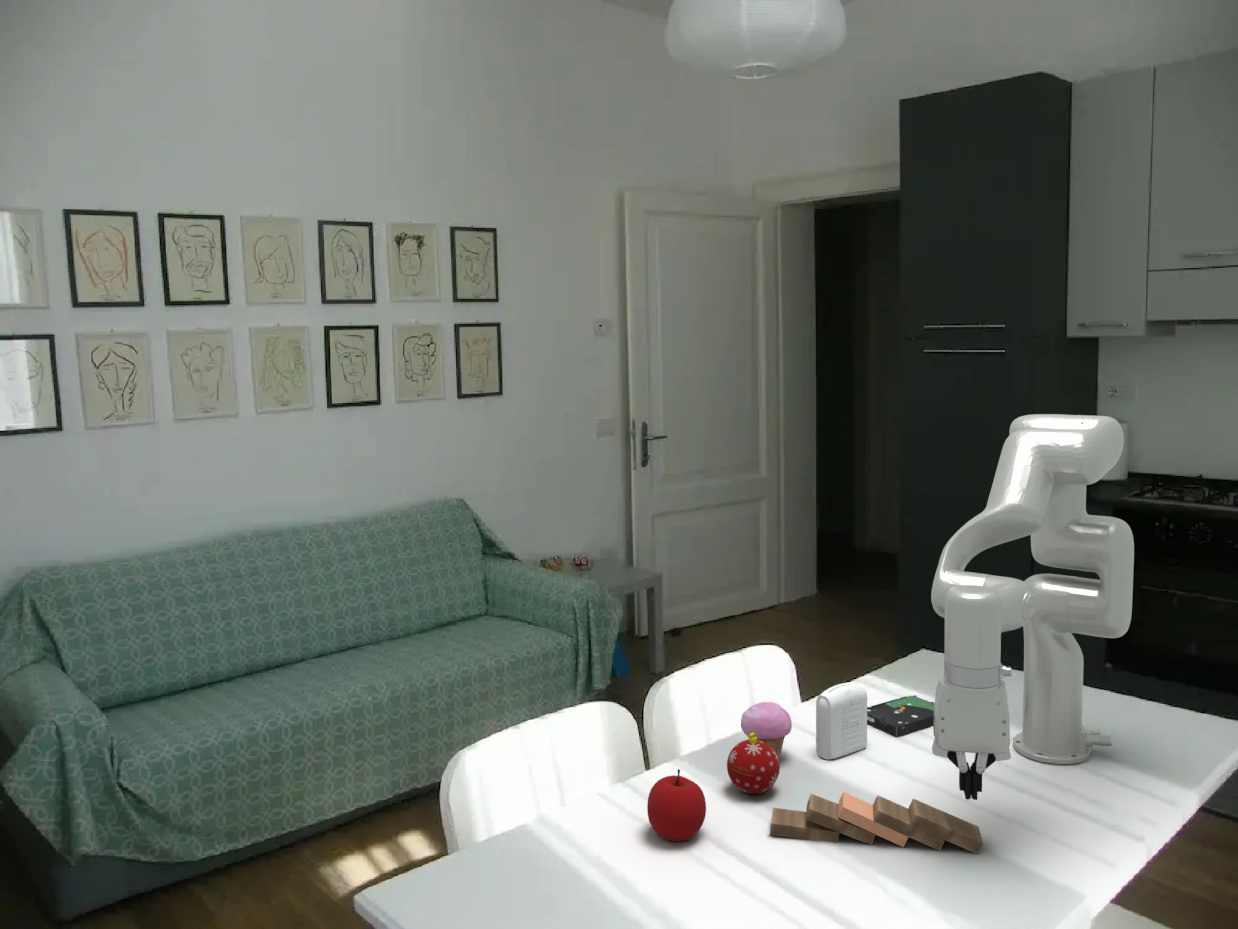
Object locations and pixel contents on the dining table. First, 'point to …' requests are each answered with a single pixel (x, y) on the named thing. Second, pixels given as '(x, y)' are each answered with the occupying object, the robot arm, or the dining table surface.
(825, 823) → the domino
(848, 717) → the photo printer
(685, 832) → the apple
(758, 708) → the cupcake
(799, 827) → the domino
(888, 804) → the domino
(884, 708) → the disk drive
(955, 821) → the domino
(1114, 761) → the dining table surface
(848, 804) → the domino
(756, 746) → the christmas ornament
